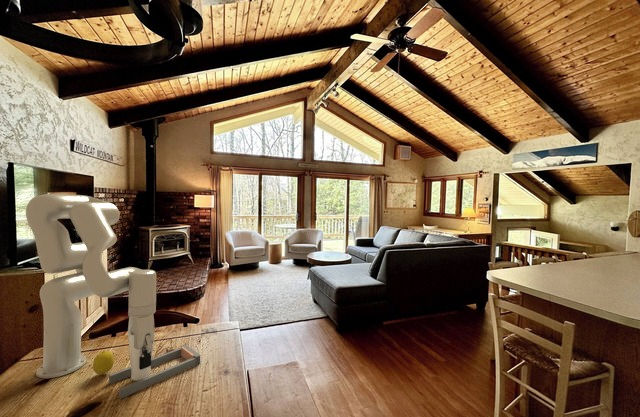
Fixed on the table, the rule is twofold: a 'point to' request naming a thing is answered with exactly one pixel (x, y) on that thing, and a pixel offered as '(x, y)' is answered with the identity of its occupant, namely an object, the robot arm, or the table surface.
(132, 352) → the drinking glass
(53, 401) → the table surface
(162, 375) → the guide channel
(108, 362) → the lemon
